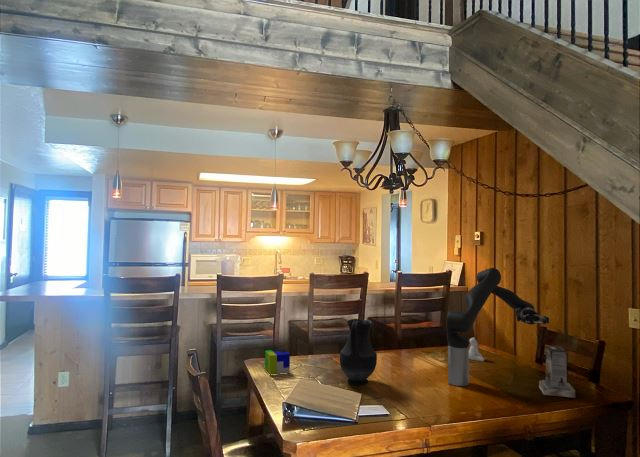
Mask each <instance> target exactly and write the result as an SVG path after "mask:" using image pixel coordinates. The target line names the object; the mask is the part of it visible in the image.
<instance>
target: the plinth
mask: <svg viewBox="0 0 640 457" xmlns="http://www.w3.org/2000/svg"><path fill="white" fill-rule="evenodd" d="M538 388H539V390H540V391H541V393H542V394H543V395H544V396H554V397H565V398H566V397H567V398H574V399H576V390H575V388H574V387H573V386H572V385H571V384H570V383H569V382H567V388H555V387H551V386H550V385H549V384H548V382H547V381H546V379H542V380H538Z"/></svg>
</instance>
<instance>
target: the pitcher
mask: <svg viewBox="0 0 640 457" xmlns="http://www.w3.org/2000/svg"><path fill="white" fill-rule="evenodd" d="M346 323H347V325H348V327H349V336H348V339H347V341H346V343H345V345H344V347H343V348H341V350H339V351H340V352H339V365H340V368H341V370H342V372H343V374H345V375H346V377H347V383H348V384H349V385H352V386H365V385H368V384H369V380H368V378H369V377H371V375H372V374H373V373H374V372H375V370H376V366H377V361H378V355H377V354H378V353H377V352H376V351H375V349H374V348H373V346H372V343H371V341H370V329H371V327H372V325H373V322H372V321H371V320H370V319H365V320H364V319H359V318H352V319H347V320H346Z"/></svg>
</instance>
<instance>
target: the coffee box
mask: <svg viewBox="0 0 640 457" xmlns="http://www.w3.org/2000/svg"><path fill="white" fill-rule="evenodd" d="M567 354H568V353H567V350H566V349H565V348H563V346H561V345H549V344H548V345H545V380H546V381H547V382H548V384H549V385H550V386H551V387H555V388H567V383H568V380H567V378H568V377H567V360H568V358H567Z"/></svg>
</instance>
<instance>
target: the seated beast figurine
mask: <svg viewBox="0 0 640 457" xmlns="http://www.w3.org/2000/svg"><path fill="white" fill-rule="evenodd" d="M468 342H469V345H470V346H469V360H472V361H475V362H476V361H477V362H481V363H482V362H484V361H485V358H484V357H483V355H482V354H481V353H480V352H479V348H478V345H479V344H478V340H477V339H476V337H471V338H469V340H468Z"/></svg>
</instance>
